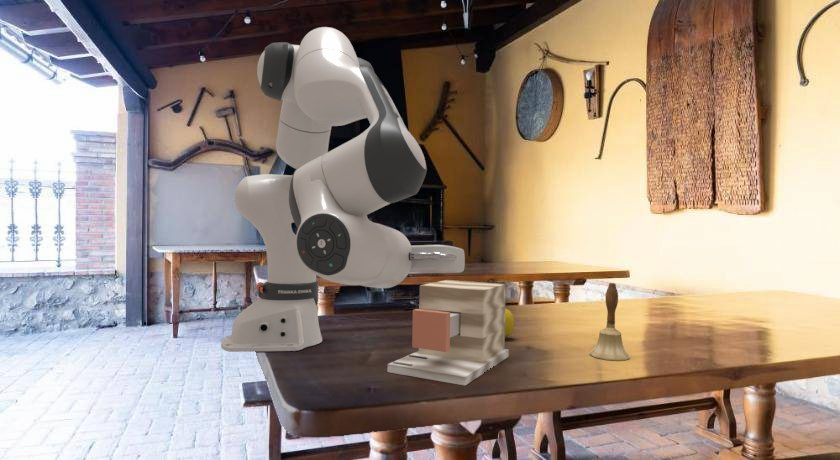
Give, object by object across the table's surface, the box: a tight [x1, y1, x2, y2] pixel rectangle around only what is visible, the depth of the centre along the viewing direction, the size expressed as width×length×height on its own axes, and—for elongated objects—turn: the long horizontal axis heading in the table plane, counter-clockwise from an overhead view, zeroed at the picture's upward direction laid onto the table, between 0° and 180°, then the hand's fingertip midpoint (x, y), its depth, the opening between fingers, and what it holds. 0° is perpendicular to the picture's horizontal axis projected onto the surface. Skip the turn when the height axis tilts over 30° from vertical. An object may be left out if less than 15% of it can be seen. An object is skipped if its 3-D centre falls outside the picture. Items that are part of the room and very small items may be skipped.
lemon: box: [505, 307, 515, 338], centre depth 129 cm, size 6×6×8 cm
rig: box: [386, 279, 510, 386], centre depth 106 cm, size 24×16×16 cm
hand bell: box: [589, 282, 631, 362], centre depth 114 cm, size 8×8×16 cm
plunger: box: [411, 308, 461, 352], centre depth 102 cm, size 12×7×7 cm, turn 152°
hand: (416, 264), depth 88 cm, fingers open, 8 cm apart
